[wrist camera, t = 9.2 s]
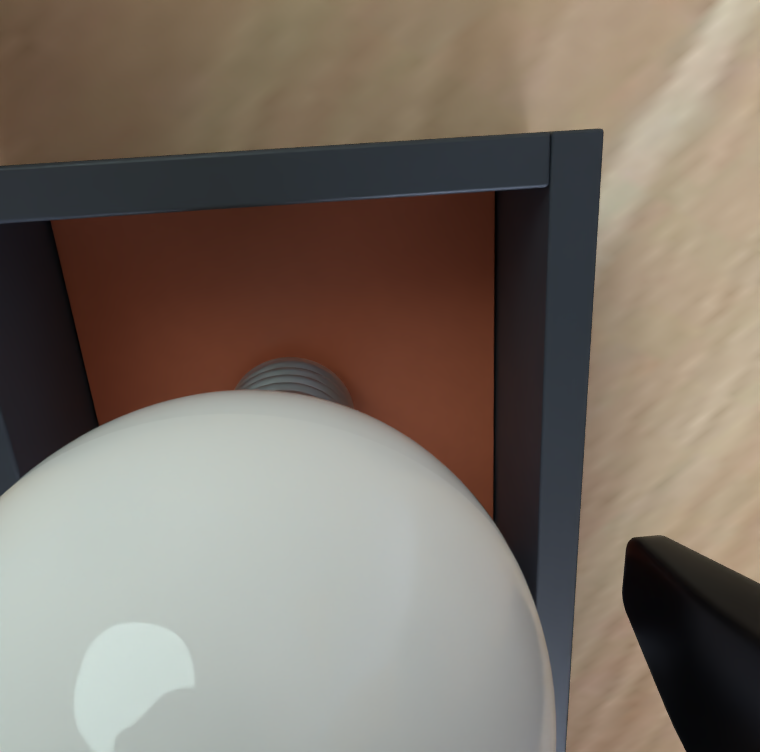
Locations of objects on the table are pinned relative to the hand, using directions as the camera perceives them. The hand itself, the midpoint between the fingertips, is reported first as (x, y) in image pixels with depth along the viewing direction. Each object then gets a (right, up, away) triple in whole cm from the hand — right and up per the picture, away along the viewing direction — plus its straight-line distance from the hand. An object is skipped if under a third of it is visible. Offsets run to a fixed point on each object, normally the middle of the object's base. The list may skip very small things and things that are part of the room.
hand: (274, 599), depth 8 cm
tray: (0, -2, +8) cm, 9 cm away
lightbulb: (-1, +2, +6) cm, 7 cm away
